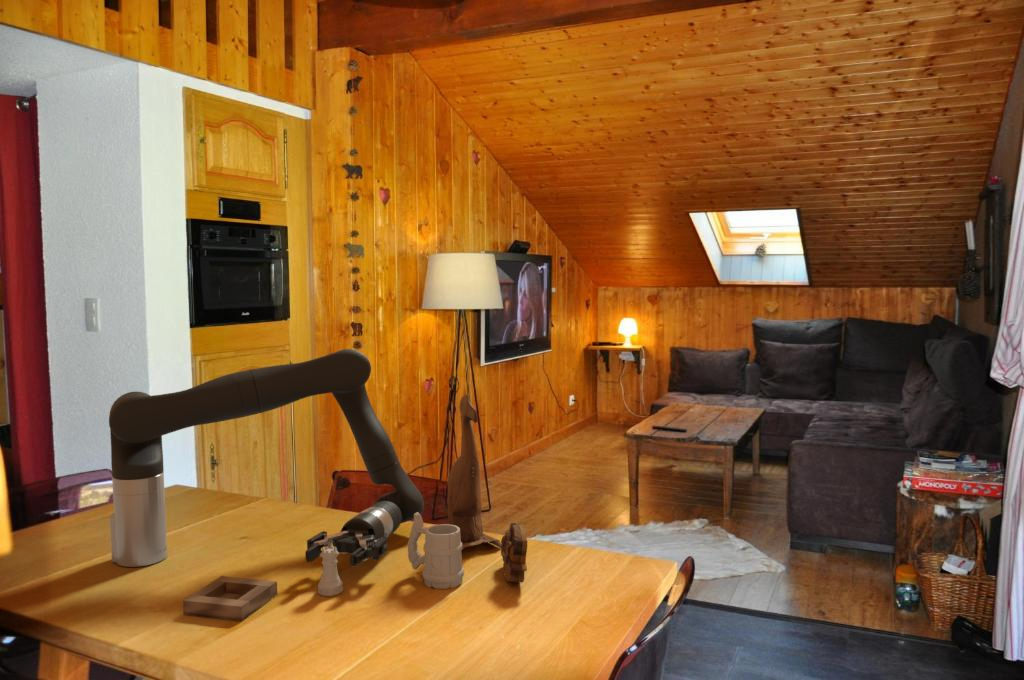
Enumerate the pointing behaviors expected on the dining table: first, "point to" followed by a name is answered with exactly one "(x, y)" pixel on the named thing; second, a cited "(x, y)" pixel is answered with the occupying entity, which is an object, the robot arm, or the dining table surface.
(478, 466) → the bird sculpture
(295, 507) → the dining table surface
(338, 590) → the rook chess piece
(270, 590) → the square tray
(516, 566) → the wooden carving
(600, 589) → the dining table surface
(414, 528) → the mug
